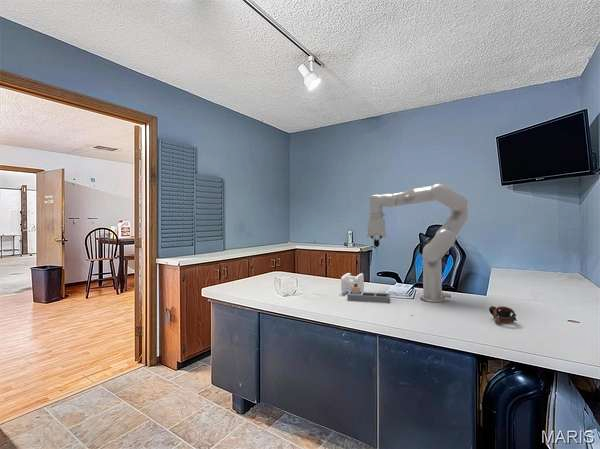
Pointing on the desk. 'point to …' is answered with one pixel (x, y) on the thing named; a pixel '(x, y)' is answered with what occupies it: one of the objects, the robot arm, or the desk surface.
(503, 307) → the brown turtle figurine
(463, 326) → the desk surface
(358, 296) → the grey compartment tray
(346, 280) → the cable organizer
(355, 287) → the plug
